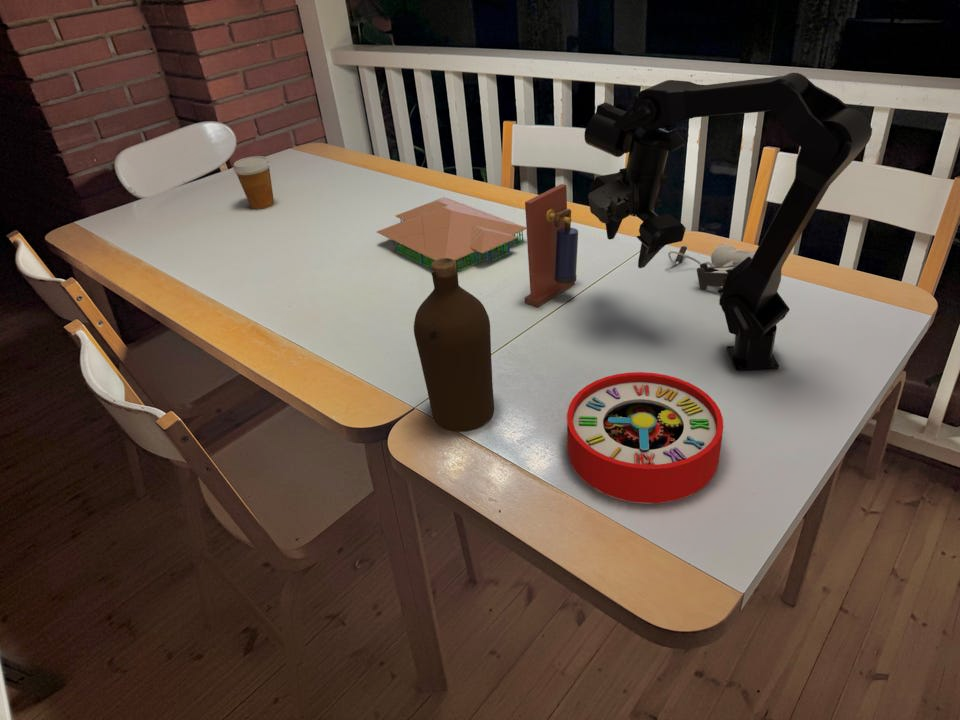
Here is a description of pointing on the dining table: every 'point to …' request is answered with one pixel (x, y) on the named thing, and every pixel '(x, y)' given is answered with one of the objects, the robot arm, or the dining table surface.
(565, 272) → the navy blue cylinder
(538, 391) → the dining table surface
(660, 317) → the dining table surface
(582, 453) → the toy clock
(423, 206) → the house
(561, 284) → the red upright board
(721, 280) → the clip-on lamp
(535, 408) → the dining table surface
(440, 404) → the olive oil
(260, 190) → the glass of beer
